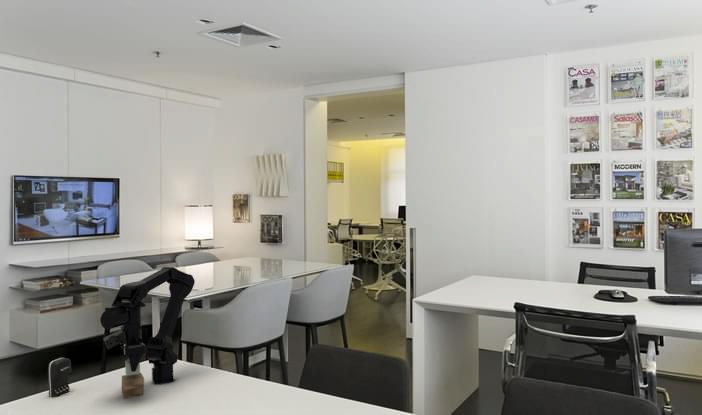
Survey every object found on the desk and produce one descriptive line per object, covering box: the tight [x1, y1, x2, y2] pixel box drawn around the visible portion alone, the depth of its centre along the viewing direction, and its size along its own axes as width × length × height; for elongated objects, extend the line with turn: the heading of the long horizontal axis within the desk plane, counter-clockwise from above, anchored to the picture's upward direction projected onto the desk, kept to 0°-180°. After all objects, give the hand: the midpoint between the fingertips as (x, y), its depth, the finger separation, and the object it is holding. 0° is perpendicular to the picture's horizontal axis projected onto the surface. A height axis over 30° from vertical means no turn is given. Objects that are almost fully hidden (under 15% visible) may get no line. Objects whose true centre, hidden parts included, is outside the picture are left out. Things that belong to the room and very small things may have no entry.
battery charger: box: [47, 357, 72, 397], centre depth 178 cm, size 7×4×11 cm, turn 166°
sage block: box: [124, 359, 141, 376], centre depth 177 cm, size 4×4×4 cm
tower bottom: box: [121, 385, 144, 399], centre depth 177 cm, size 6×6×3 cm
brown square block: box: [121, 372, 145, 390], centre depth 177 cm, size 6×6×3 cm
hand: (132, 369), depth 177 cm, fingers closed on sage block, 4 cm apart
